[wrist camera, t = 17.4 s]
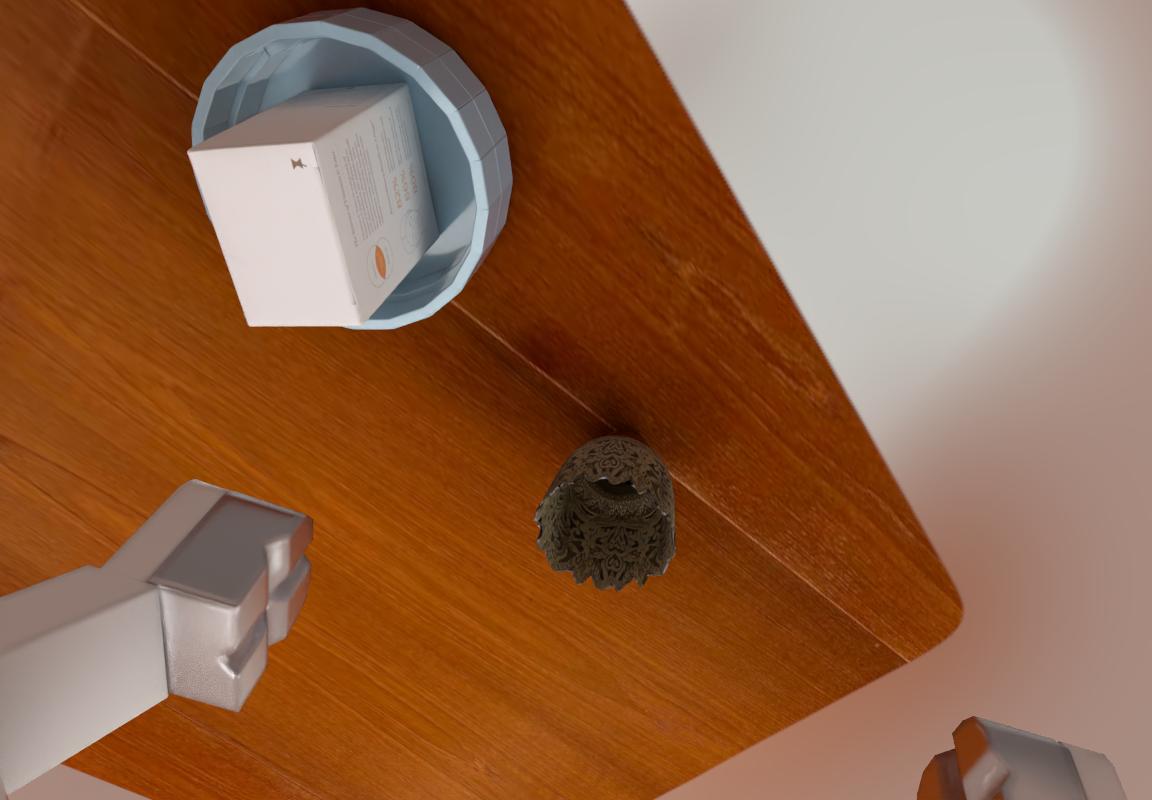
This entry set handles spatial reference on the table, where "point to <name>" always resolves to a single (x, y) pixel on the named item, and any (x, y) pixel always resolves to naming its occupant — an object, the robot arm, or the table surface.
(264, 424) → the table surface
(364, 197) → the small box
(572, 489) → the cup
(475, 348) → the table surface
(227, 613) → the robot arm
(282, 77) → the bowl
